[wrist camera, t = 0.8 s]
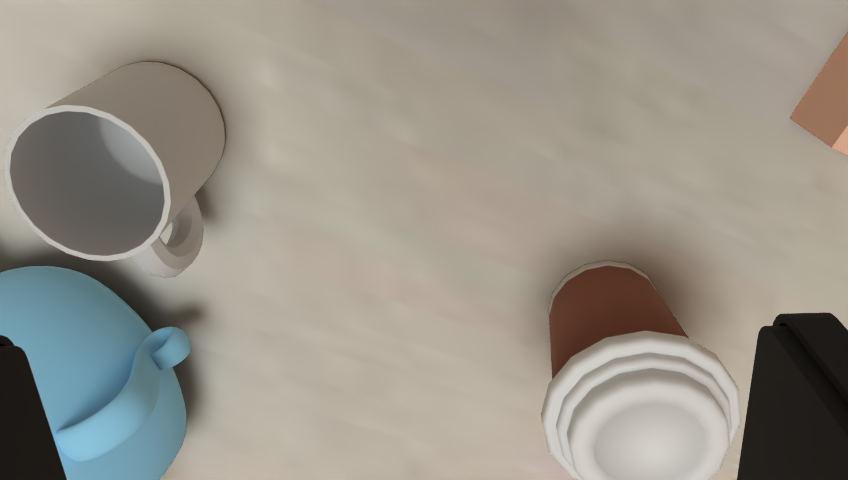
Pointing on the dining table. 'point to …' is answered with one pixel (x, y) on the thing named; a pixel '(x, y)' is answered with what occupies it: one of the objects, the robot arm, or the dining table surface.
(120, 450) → the decorative pot
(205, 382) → the dining table surface
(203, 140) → the cup
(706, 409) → the coffee cup
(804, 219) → the dining table surface
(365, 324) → the dining table surface
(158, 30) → the dining table surface
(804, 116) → the stacking block
